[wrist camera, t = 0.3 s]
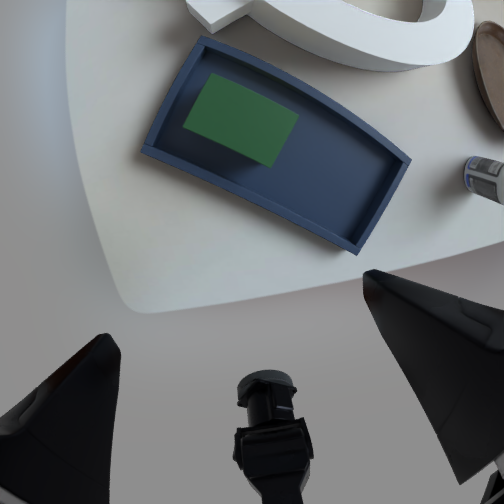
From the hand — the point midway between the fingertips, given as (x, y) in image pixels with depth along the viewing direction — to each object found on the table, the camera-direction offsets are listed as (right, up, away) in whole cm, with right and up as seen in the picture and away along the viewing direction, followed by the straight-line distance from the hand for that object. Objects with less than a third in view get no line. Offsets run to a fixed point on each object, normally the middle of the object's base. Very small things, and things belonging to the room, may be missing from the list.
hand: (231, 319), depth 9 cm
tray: (+4, +11, +14) cm, 18 cm away
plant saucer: (+34, +25, +11) cm, 44 cm away
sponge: (0, +13, +13) cm, 18 cm away
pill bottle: (+28, +12, +16) cm, 34 cm away
